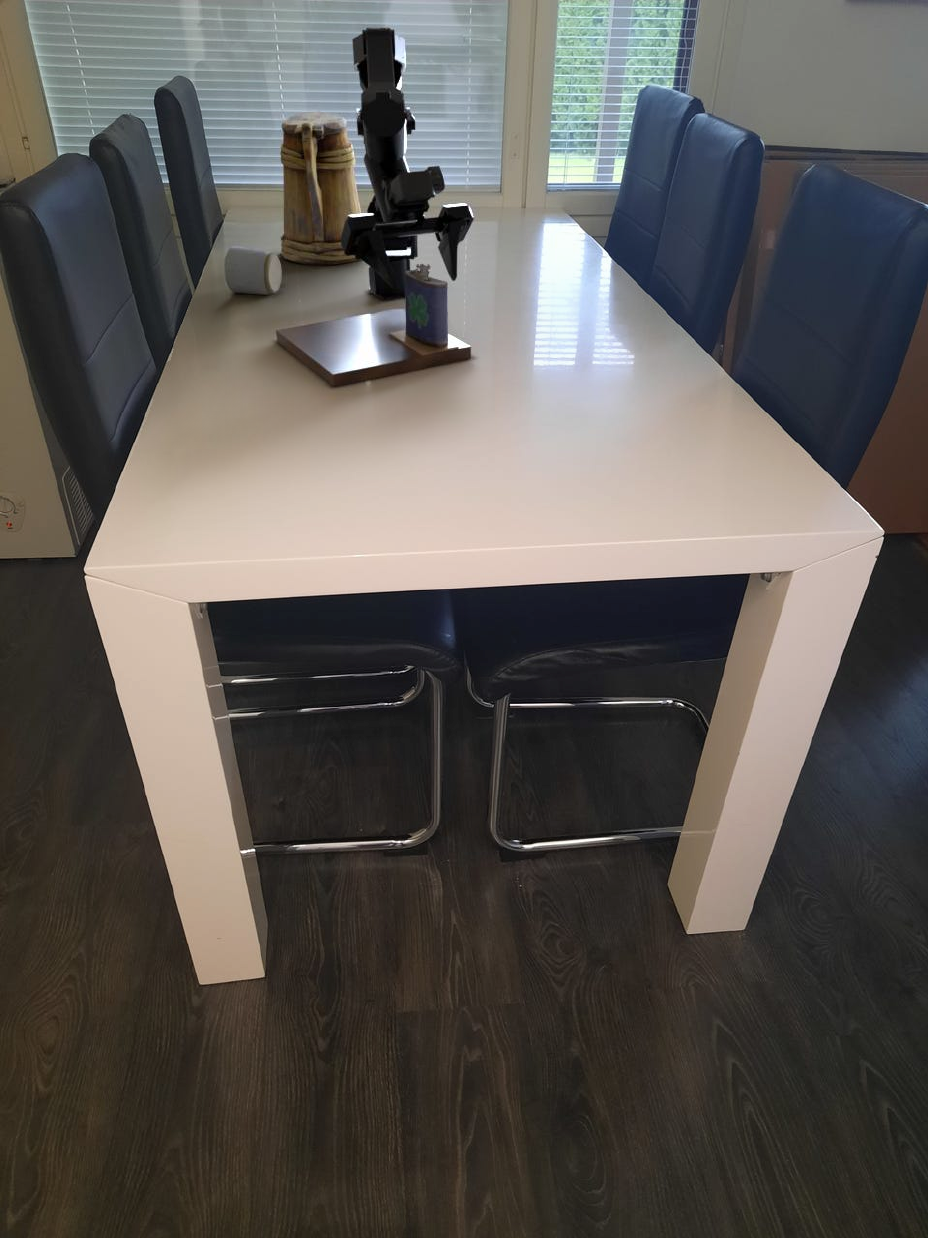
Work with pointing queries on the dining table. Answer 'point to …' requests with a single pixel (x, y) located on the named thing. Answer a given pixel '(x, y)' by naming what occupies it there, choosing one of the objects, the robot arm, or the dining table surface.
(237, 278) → the ceramic mug
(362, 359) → the serving board
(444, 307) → the flask
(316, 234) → the tankard
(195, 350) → the dining table surface
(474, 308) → the dining table surface
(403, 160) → the robot arm
